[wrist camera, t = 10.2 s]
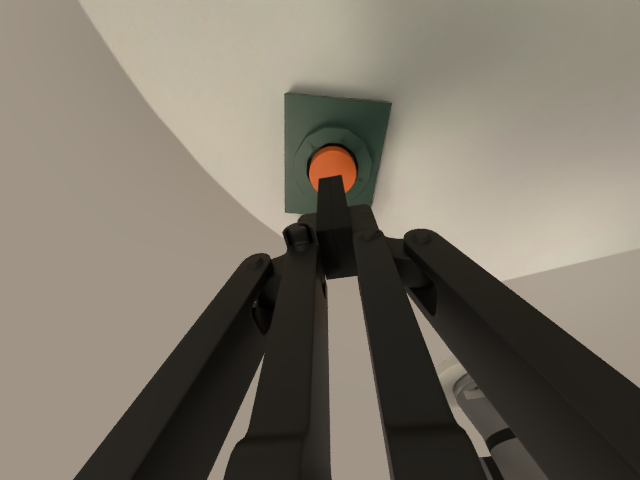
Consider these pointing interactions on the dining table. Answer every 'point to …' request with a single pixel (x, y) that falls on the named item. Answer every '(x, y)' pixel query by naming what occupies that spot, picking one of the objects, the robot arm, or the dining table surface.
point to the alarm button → (332, 166)
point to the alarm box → (331, 144)
